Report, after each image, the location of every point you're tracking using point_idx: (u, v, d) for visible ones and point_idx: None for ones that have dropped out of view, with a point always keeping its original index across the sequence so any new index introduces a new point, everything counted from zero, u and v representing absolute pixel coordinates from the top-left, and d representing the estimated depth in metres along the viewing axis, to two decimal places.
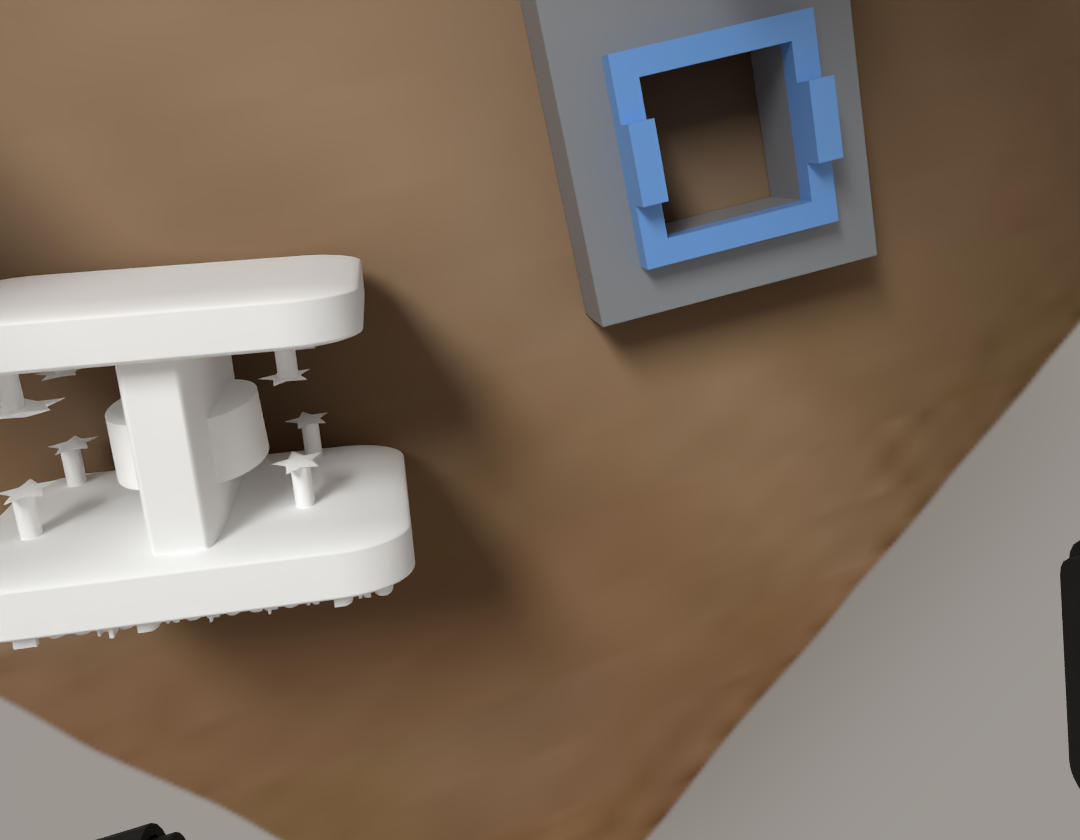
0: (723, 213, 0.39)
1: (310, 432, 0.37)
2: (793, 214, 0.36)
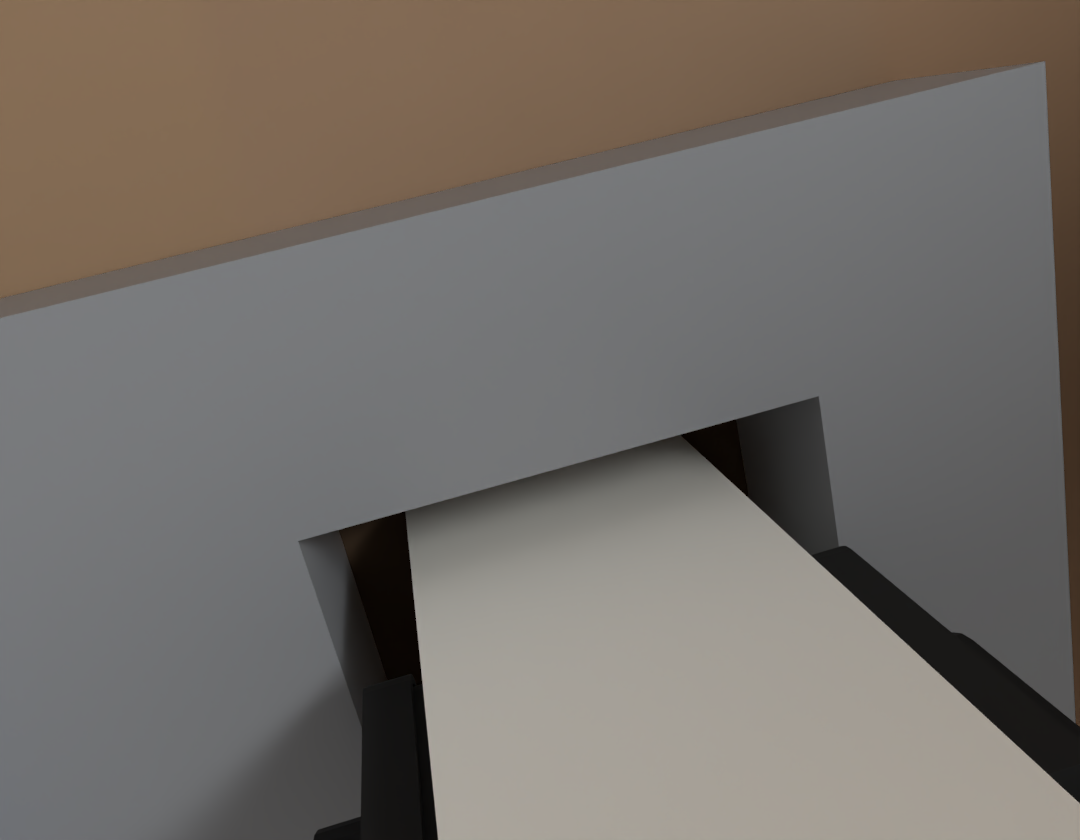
0: None
1: None
2: None
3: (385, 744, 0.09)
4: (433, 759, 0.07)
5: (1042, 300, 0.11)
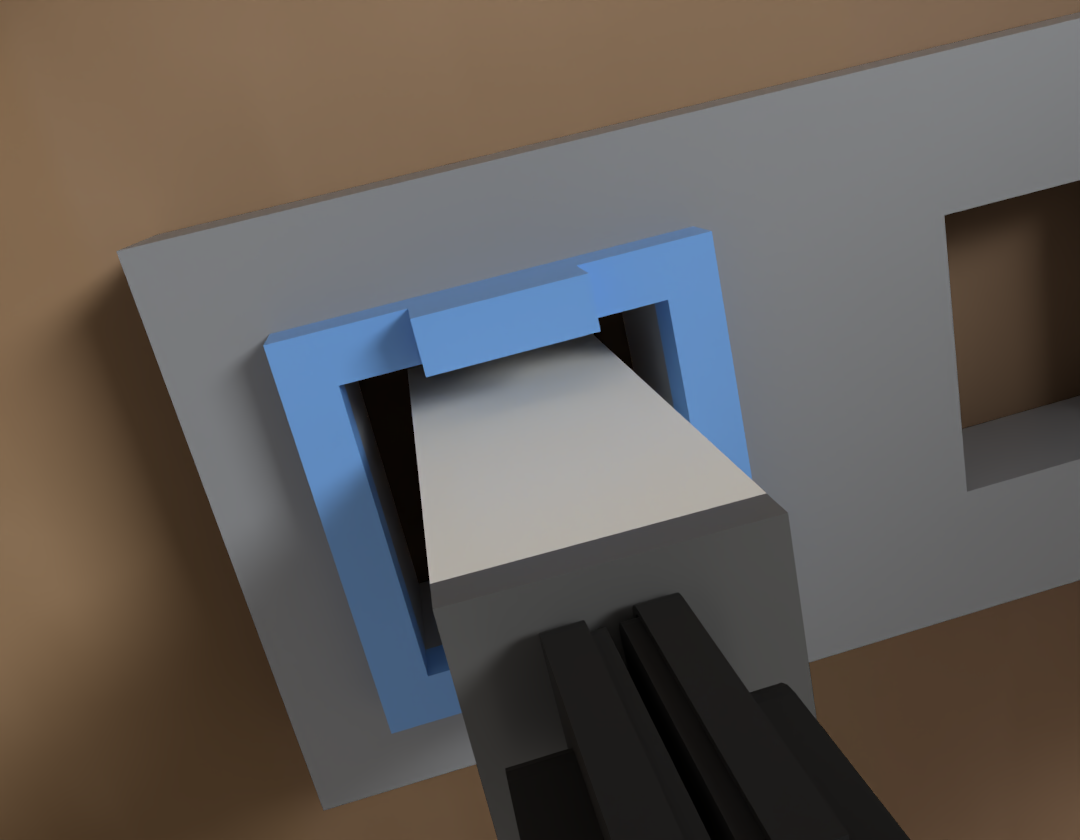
0: (388, 501, 0.19)
1: None
2: (401, 644, 0.18)
3: (581, 682, 0.09)
4: (418, 455, 0.15)
5: None
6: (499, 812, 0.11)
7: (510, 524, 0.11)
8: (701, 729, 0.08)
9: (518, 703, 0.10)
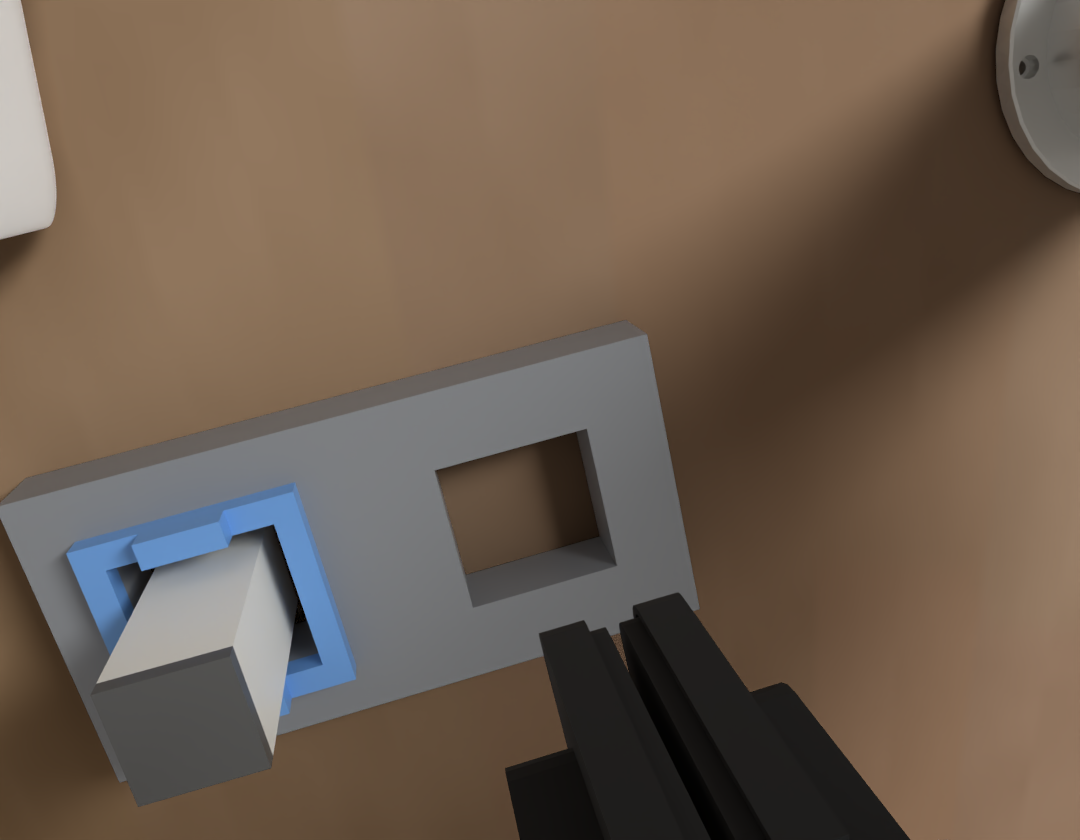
0: None
1: None
2: None
3: (580, 681, 0.09)
4: (133, 611, 0.31)
5: (655, 399, 0.35)
6: (126, 771, 0.27)
7: (141, 655, 0.28)
8: (701, 729, 0.08)
9: (129, 729, 0.27)
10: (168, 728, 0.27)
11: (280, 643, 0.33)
